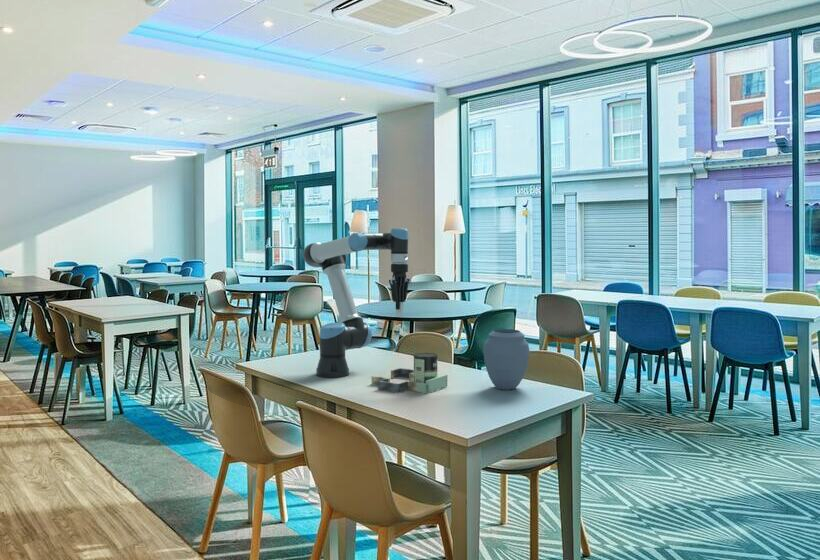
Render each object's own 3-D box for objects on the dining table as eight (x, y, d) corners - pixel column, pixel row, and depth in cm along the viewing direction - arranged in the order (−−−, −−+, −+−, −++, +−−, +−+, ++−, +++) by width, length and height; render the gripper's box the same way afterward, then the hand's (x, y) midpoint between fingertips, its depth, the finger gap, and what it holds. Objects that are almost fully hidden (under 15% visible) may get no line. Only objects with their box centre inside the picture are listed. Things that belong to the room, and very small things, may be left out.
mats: (366, 386, 280) (366, 386, 280) (400, 376, 301) (400, 375, 301) (398, 391, 270) (398, 391, 270) (431, 380, 291) (431, 380, 291)
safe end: (417, 391, 271) (417, 379, 271) (437, 384, 284) (437, 373, 283) (428, 393, 268) (428, 381, 268) (447, 386, 281) (447, 374, 281)
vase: (524, 395, 265) (525, 335, 264) (477, 391, 272) (478, 332, 271) (532, 385, 284) (533, 329, 282) (488, 381, 290) (489, 326, 289)
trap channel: (362, 386, 279) (362, 378, 279) (400, 375, 302) (400, 367, 302) (409, 394, 266) (409, 386, 266) (445, 382, 289) (445, 374, 289)
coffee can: (439, 385, 282) (439, 353, 281) (435, 391, 272) (435, 357, 271) (415, 384, 284) (415, 352, 283) (411, 389, 274) (411, 356, 273)
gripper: (397, 264, 282) (397, 318, 284) (414, 263, 293) (414, 315, 294) (383, 263, 286) (383, 317, 288) (400, 262, 297) (400, 314, 299)
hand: (399, 316), depth 291 cm, fingers closed
